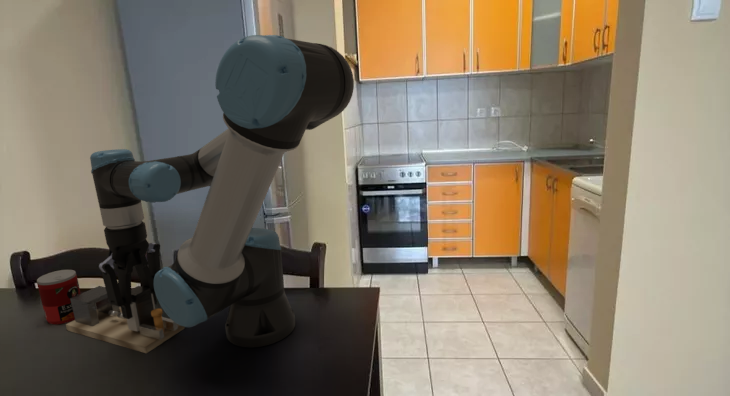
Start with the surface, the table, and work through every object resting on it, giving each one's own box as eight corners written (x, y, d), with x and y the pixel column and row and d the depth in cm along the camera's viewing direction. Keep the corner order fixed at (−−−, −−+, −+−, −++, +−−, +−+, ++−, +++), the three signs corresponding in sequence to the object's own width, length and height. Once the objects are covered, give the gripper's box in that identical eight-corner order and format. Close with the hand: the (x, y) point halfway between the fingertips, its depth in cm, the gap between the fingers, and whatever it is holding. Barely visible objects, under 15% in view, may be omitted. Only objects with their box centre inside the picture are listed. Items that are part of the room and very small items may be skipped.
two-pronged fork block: (177, 328, 89) (171, 291, 87) (160, 339, 85) (153, 300, 83) (120, 314, 97) (113, 279, 95) (101, 324, 93) (93, 287, 90)
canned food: (65, 326, 96) (55, 283, 93) (38, 323, 97) (27, 281, 95) (92, 310, 103) (84, 270, 100) (66, 308, 105) (57, 268, 102)
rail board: (184, 328, 93) (183, 322, 92) (146, 353, 84) (145, 347, 83) (108, 309, 103) (107, 304, 102) (67, 330, 94) (65, 324, 94)
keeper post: (168, 331, 89) (164, 309, 88) (159, 336, 87) (155, 314, 86) (161, 329, 90) (157, 307, 89) (152, 334, 88) (148, 312, 87)
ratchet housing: (120, 312, 98) (115, 289, 97) (92, 326, 92) (87, 302, 91) (103, 308, 101) (99, 285, 99) (75, 321, 95) (70, 298, 93)
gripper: (146, 212, 94) (162, 304, 99) (71, 234, 79) (95, 341, 84) (170, 214, 91) (185, 309, 96) (97, 238, 76) (119, 348, 81)
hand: (143, 324), depth 90 cm, fingers closed on two-pronged fork block, 4 cm apart
